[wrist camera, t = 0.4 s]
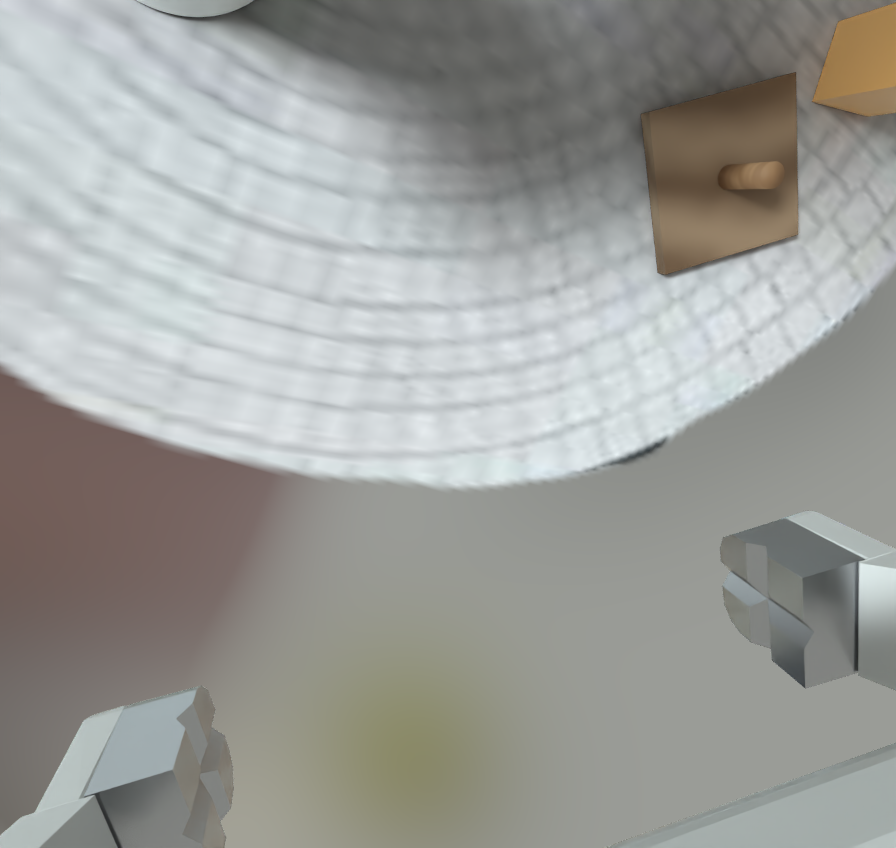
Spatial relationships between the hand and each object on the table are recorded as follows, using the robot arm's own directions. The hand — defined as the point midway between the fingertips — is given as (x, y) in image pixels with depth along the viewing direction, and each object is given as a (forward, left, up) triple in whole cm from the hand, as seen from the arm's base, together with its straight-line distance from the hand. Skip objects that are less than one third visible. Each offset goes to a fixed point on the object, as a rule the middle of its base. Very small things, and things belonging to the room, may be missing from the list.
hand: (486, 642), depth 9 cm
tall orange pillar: (-5, +43, -39) cm, 58 cm away
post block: (0, +31, -39) cm, 50 cm away
